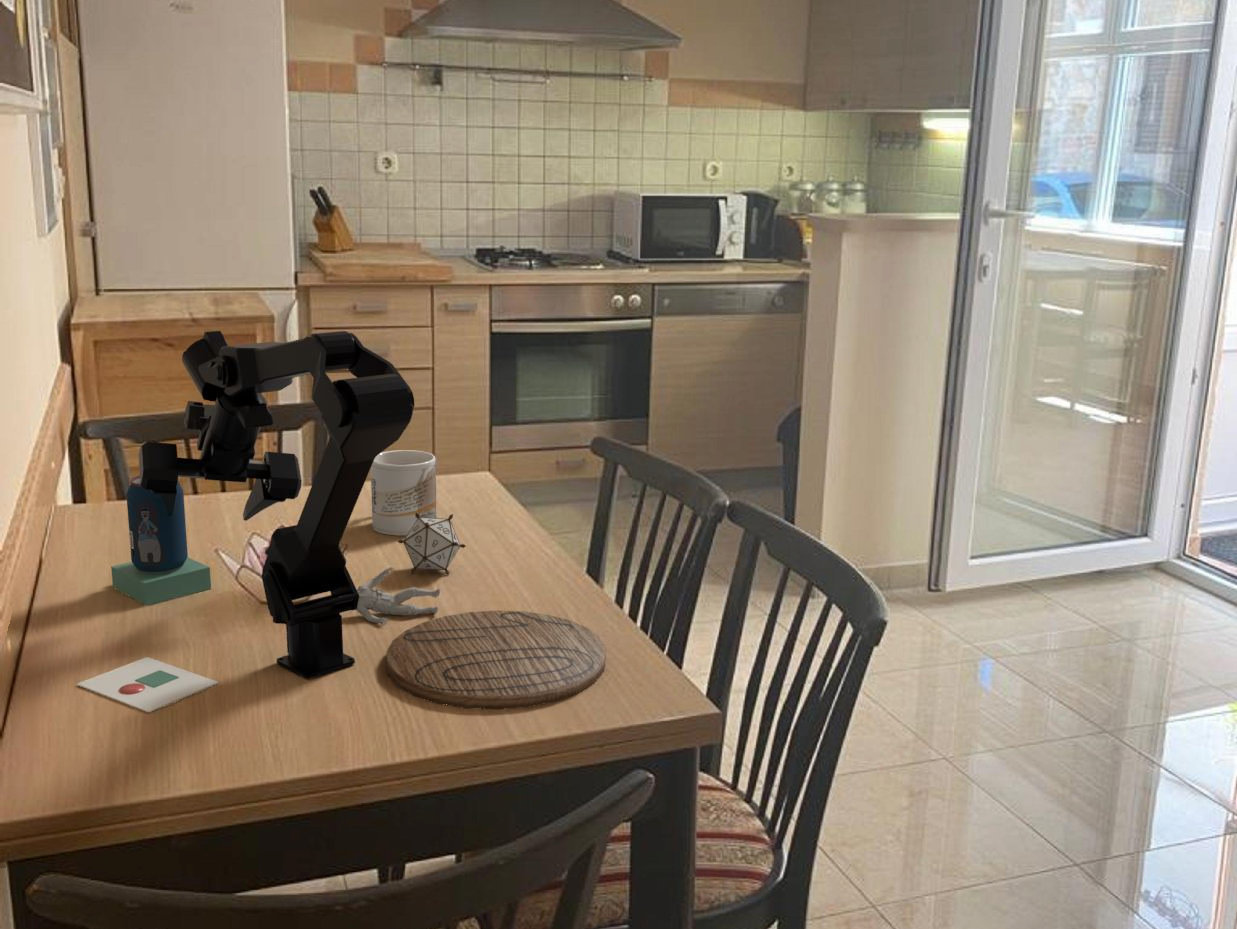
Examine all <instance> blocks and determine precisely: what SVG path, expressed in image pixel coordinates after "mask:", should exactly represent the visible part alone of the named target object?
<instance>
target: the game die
mask: <svg viewBox="0 0 1237 929" xmlns="http://www.w3.org/2000/svg"><path fill="white" fill-rule="evenodd" d="M415 516H416V517H417V520H416V522H415V523H414V525H413V527H412V528H411V530H410V531H409V533H408V534H407V535H406V536H405V538H404V539H401V538H400V539H398V540H397V542H398V543H399V544H403V545H404V548H405V550H406V552H407V555H408V557H409V559H410V561H411V563H412V566H413V567H412V569H411V572H410V573H411V574H413V573H416V571H417V570H418V569H419V570H437V571H444V573H445V575H447V576H449V575H450V571H449V570H448V568H449V567H450V564H451V563H452V561H453V560H454V558H455V556H456V554H457V553H458V551H459V550H460V548H462V549H464V548H466V547H467V545H465V543H460V540H459V538H458V536H457V533H456V531H455V528H454V526H453V524H452V521H451V520H452V519H453V518H454V513H451V514H449V516H448V518H438V517H436V518H422V517H419V516H420V515H419V514H418V513H416V514H415Z"/></svg>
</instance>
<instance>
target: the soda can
mask: <svg viewBox="0 0 1237 929" xmlns="http://www.w3.org/2000/svg"><path fill="white" fill-rule="evenodd" d="M129 482H130V485H129V487H128V490H127V491H126V506H127V520H128V531H129V532H128V534H129V535H128V536H129V546H130V547H129V548H130V559H131V562H132V563H133V564H134V566H135V567H136V568H137V569H138V571H139V572H141V573H145V574H165V573H170V572H174V571H177V570H179V569H181V568H182V567H183V565H184V563H185V561H186V559H187V557H188V556H189V555H188V554H189V553H188V540H187V539H188V536H187V525H186V524H187V523H186V512H185V511H186V510H185V498H184V497H185V496H184V488H183V487H182V485H181V484H180V482H179V481H178V482H177V486H176V488H177V496H176V502H175V508H174V513H173V515H172V516H168V513H167V509H166V505H165V503H164V501H163V499H162V498H161V496H160V495H159V494H154V493H152V492H151V490H146V489H144V488H143V487H141V486H140V475H138V476H137V475H136V476H134V477H132V478H131V479H130V481H129ZM188 558H189V557H188Z"/></svg>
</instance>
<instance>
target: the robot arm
mask: <svg viewBox="0 0 1237 929" xmlns="http://www.w3.org/2000/svg"><path fill="white" fill-rule="evenodd" d="M226 340H227V339H226V338H225V336H224V334H223V333H222V331H221V330H213V331H211V330H210V331H204V334H203V337H202V338H201V339H198V340H196V341H195V342H193V343H192V344H190V345H189V346H188V348H186V350H184V351H183V353H182V356H181V362H182V364H183V366H184V368H185V370H186V371H187V373H188V375H189V377H190V378H191V380H192V382H193V383H194V386H195V387H196V388H197V390H198V392H199V394H200V396H201V397H202V399H203V400H204V401H208V402H215V403H214V404H204V402H202V401H192V400H188V401H187V403H186V407H185V410H184V415H183V424H184V427H185V429H186V430H189V431H198V432H199V435H198V438H197V441H196V445H197V446H196V448H197V451H200V454H199V457H198V458H188V457H178V447H177V443H168V442H157V441H155V442H154V441H144V442H143V443H142V444H141V445H140V447H139V451H138V469H139V470H138V471H139V476H140V486H141V487H143V488H144V489H146V490H151V492H152V493H154V494H159V495H160V496H161V498H162V499H163V501H164V503H165V505H166V509H167V513H168V516H172V515H173V513H174V508H175V502H176V496H177V488H176V486H177V482H179V478H191V479H203V480H207V481H217V482H218V481H220V482H235V483H247V480H248V479H254V484H253V486H252V489H251V491H250V494H249V496H248V498H247V500H246V503H245V505H244V508H243V509H244V510H243V511H242V519H243V521H248V520H250V519H251V518H253V517H254V516H256V515H257V514H259V513H260V512H261V511H263V510H265V509H267V508H269V507H271V506H273V505H275V504H277V503H284V502H285V501H286V500H295V499H297V498H298V496H299V494H300V492H301V489H302V481H303V480H302V476H301V471H300V464H299V459H298V457H297V456H296V455H295V453H288V452H276V451H264V453H263V457H262V458H263V459H262V460H254V458H255V455H256V450H255V446H256V442H257V439H258V437H259V433H260V430H261V428H262V427H270V426H273V425H274V418H273V415H272V412H270V410H269V408H268V404H269V403H268V401H267V398H266V397H265V396H264V393H270V392H271V393H272V392H279V391H282V390H284V389H285V388H287V387H288V386H290V385H292V383H293V382H294V381H293V379H294V378H297V377H303V376H308V375H311V376H312V378H313V379H312V390H311V400H312V401H313V403H314V404H315V406H316V407H317V408H318V410H319V412H320V413H321V416H320V417H321V421H322V423H323V425H324V427H325V430H326V433H327V434H328V435H327V436H328V437H329V438H328V441H327V442H328V443H327V445H326V447H325V449H324V453H323V456H322V458H321V461H320V463H319V466H318V469H317V471H316V474H315V477H314V480H313V481H312V484H311V487H310V489H309V493H308V495H307V497H306V500H305V503H304V505H303V508H302V511H301V514H300V517H299V519H298V521H297V524H294V525H290V526H289V525H288V526H285V527H284V526H283V527H280V528H276V529H275V530H274V532H273V533H272V534H271V539H270V544H269V546H268V548H267V549H266V550H265V551H264V554H265V555H266V558H265V560H264V565H263V566H262V572H261V580H262V584H263V589H264V594H265V598H266V604H267V605H266V606H267V609H268V611H269V615H270V616H271V618H272V622H273V623H274V624H277V625H278V624H281V625H285V629H286V630H285V632H286V647H287V648H286V649H287V650H286V651H287V654H286V655H284V656H280V657H277V658H276V664H277V665H279V666H281V667H283V668H285V669H286V670H289V671H291V672H293V673H295V674H297V675H299V676H301V677H303V678H305V679H313V678H316V677H319V676H322V675H325V674H328V673H331V672H333V671H336V670H340V669H342V668H345V667H347V666H348V667H349V666H351V665H354V664H355V663H356V661H355V658H354V657H352V656H350V655H348V654H346V653H345V652H344V640H343V638H344V637H343V616H342V613H344V612H350V611H357V610H356V609H357V606H358V600H359V594H358V592H357V589H358V588H356V585H355V583H354V581H353V579H352V576H351V575H350V573H349V570H348V569H347V566H346V564H347V558H346V557H345V555H344V552H343V551H342V550H343V549H342V548H341V546H340V543H341V540H342V538H343V536H344V533H345V530H346V529H347V526H348V524H349V521H350V519H351V516H352V514H353V512H354V509H355V507H356V504H357V502H358V500H359V497H360V495H361V493H362V490H363V488H364V485H365V482H366V480H367V478H368V475H369V473H370V472H371V466H372V464H373V461H374V459H375V457H376V456H377V455H378V454H380V453H382V452H385V450H386V449H389V448H390V446H392V445H393V444H395V443H396V442H397V441H399V439H400V438H401V436H402V435H403V434H404V432H405V430H406V428H407V427H408V426H409V424H410V423H411V420H412V419H413V415H414V408H415V396H414V394H413V391H412V389H411V387H410V385H409V384H408V382H407V381H405V379H404V378H403V376H402V375H401V374H400V372H399V371H398V370H397V368H396V367H395V366H394V365H393V363H392V362H390V361H389V360H387V359H385V358H384V357H383V356H380V355H379V354H377V353H376V352H374V351H372V350H370V349H368V348H366V347H365V346H364V345H363V344H362V342H361V341H360V340H359V338H358V337H357V336H356V335H355V334H354V333H353V332H348V331H346V330H337V331H328V332H327V331H325V332H316V333H311V334H310V335H309V336H308V335H307V336H306V337H304V338H300V339H299V338H298V339H295V340H291V341H287V342H277V341H266V342H254V343H253V342H252V343H244V344H233V345H229V344H228V342H227V341H226ZM343 370H345V371H346V370H348V371H349V373H350V374H351V375H352V376H354V377H353V378H345V379H337V380H333V381H332V380H331V379H330V377H329V375H328V374H327V373H326V372H334V371H343ZM328 592H330V595H326V596H321V597H318V598H313V599H309V600H305V601H301V602H297V603H294V602H293V601H295V600H299V599H304V598H308V597H312V596H317V595H321V594H323V593H328Z"/></svg>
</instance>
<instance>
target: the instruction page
mask: <svg viewBox="0 0 1237 929" xmlns="http://www.w3.org/2000/svg"><path fill="white" fill-rule="evenodd" d="M216 684H217V685H220V684H219V681H217V680H214V679H211V678H208V677H205V676H203V675H200V674H197V673H194V672H191V671H188V670H185V669H182V668H179V667H177V666H175V665H171V664H168V663H166V662H163V661H160V660H158V659H157V660H156V659H155V658H152V657H149V656H145V657H143V658H141V659H139V660H138V659H137V660H135V661H133V662H131V663H128V664H125V665H122V666H120V667H117V668H115V669H112V670H110V671H107V672H104V673H101V674H99V675H96V676H94V677H91V678H88V679H86V680H82V681H80V682H78V683H76V686H77V685H78V686H77V687H79V686H80V688H82V687H83V689H85V688H86V689H85V690H87V691H90V692H92V691H93V692H92V693H96V694H97V693H99V694H98V695H101V696H103V697H105V696H106V697H105V698H108V699H110V698H111V700H113V699H114V700H113V701H115V700H117V701H116V702H118V701H120V702H119V703H121V702H123V703H125V704H124V705H126V704H128V705H131V706H132V707H131V706H130V707H131V708H133V707H135V708H134V709H136V708H139V709H140V710H139V709H138V710H139V711H141V710H144V711H147V712H151V711H153V710H156V709H158V708H160V707H163V706H164V705H167V704H170V703H172V702H174V701H177V700H179V701H181V700H180V699H182V700H184V699H186V698H185V697H187V696H189V697H191V696H193V695H192V694H194V693H196V694H198V693H200V692H199V691H201V692H203V691H205V690H207V689H206V688H208V687H210V688H212V687H214V686H213V685H215V686H217V685H216ZM204 689H205V690H204ZM208 689H209V688H208ZM202 690H203V691H202ZM197 692H198V693H197ZM190 695H191V696H190ZM194 695H195V694H194ZM183 698H184V699H183ZM187 698H188V697H187ZM177 702H178V701H177ZM123 703H122V704H123ZM172 704H173V703H172ZM128 705H127V706H128ZM170 705H171V704H170ZM163 708H164V707H163ZM158 710H159V709H158ZM144 711H143V712H144ZM156 711H157V710H156ZM151 713H152V712H151Z"/></svg>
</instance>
